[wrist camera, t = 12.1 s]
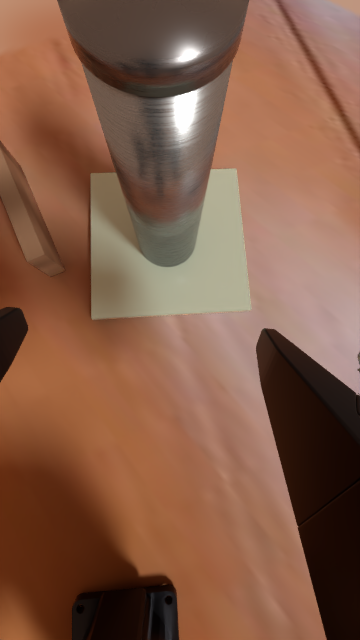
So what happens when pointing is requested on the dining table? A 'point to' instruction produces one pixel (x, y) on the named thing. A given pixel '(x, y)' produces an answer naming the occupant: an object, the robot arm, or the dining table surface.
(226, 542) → the dining table surface
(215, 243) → the tile
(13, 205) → the cubby
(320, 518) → the robot arm
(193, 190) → the canister
